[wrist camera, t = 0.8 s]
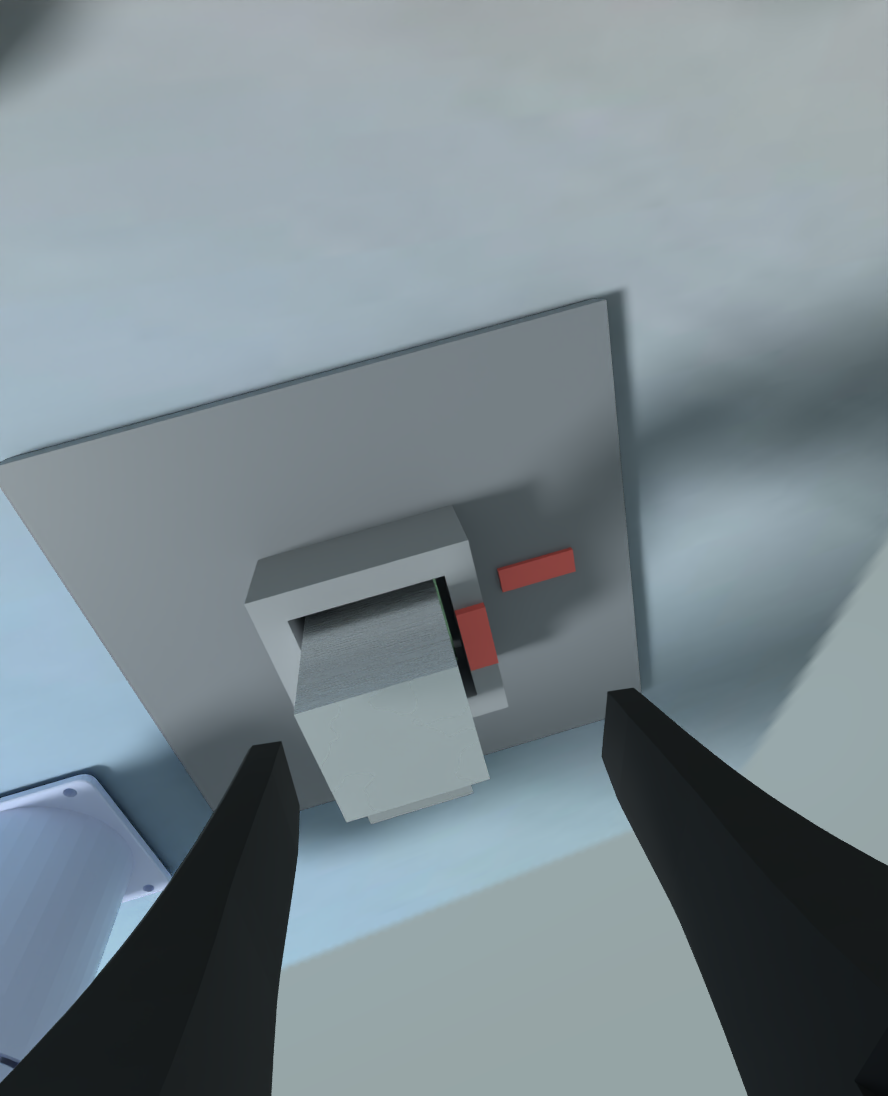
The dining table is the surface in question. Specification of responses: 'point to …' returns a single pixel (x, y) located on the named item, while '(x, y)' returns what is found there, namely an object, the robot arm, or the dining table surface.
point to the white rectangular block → (387, 705)
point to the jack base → (357, 536)
